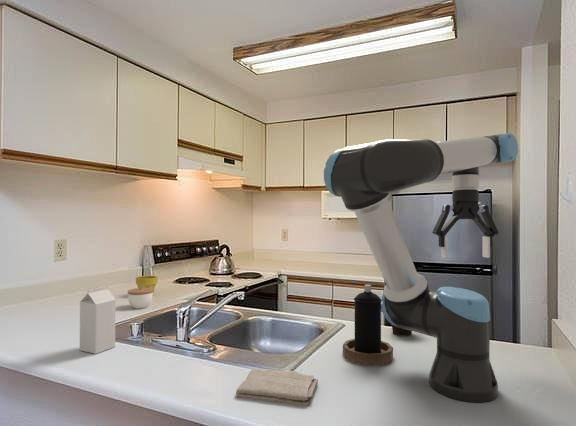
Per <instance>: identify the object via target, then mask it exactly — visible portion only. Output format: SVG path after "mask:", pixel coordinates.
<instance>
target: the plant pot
mask: <svg viewBox="0 0 576 426" xmlns="http://www.w3.org/2000/svg"><path fill="white" fill-rule="evenodd" d="M157 284H158V275H140V276H137V277H135V285H136V286H137V288H139V286H142V288H151V289H153V295H154V294H155V289H156V285H157Z"/></svg>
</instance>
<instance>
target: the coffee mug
mask: <svg viewBox="0 0 576 426" xmlns="http://www.w3.org/2000/svg"><path fill="white" fill-rule="evenodd" d="M391 327H392V330H391V331H392V334H393V335H395V336H399V337H409V336H411V335H412V332H413V331H410V330H407V329H402V328H399V327H397V326H395V325H393V324H391Z"/></svg>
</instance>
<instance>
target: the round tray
mask: <svg viewBox="0 0 576 426" xmlns="http://www.w3.org/2000/svg"><path fill="white" fill-rule="evenodd" d="M354 349H355V338H352V339H348V340H346V341H345V342H344V343H342V355H343V357H344V358H345V360H347V361H349V362H352V363H353V364H358V365H363V366H367V367H368V366H370V367H371V366H383V365H387V364H389V363H390V364H391V362H392V360H393V358H394V347H393V346H392V345H391V344H390V343H389V342H386V341H382V340H381V352H382V353H362V352H357V351H354Z"/></svg>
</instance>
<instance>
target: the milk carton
mask: <svg viewBox="0 0 576 426" xmlns="http://www.w3.org/2000/svg"><path fill="white" fill-rule="evenodd" d="M115 347H116V297H114V295H113V294H112V292H111V290H109V285H106V286H105V285H104V286H101V287H96V288H91V289H87V293H86V294H85V295H84V297H83V298H82V299H81V300H80V301H79V351H81V352H86V353H90V354H94V355H97V354H100V353H102V352H105V351H108V350H110V349H113V348H115Z"/></svg>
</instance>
